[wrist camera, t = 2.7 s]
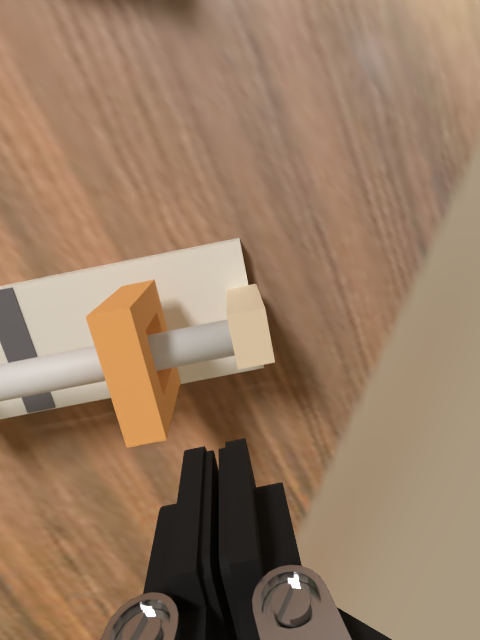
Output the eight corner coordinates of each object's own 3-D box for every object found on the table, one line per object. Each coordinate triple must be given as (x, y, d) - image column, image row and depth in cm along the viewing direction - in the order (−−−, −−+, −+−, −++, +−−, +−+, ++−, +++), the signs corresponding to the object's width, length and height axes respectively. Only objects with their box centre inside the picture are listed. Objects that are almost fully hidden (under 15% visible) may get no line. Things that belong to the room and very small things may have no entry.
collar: (154, 279, 25) (129, 307, 18) (180, 381, 27) (166, 440, 20) (122, 285, 25) (85, 316, 18) (150, 387, 27) (126, 447, 20)
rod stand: (246, 236, 28) (254, 250, 20) (269, 358, 30) (284, 413, 23) (-84, 302, 28) (-202, 342, 20) (-34, 417, 31) (-122, 491, 23)
